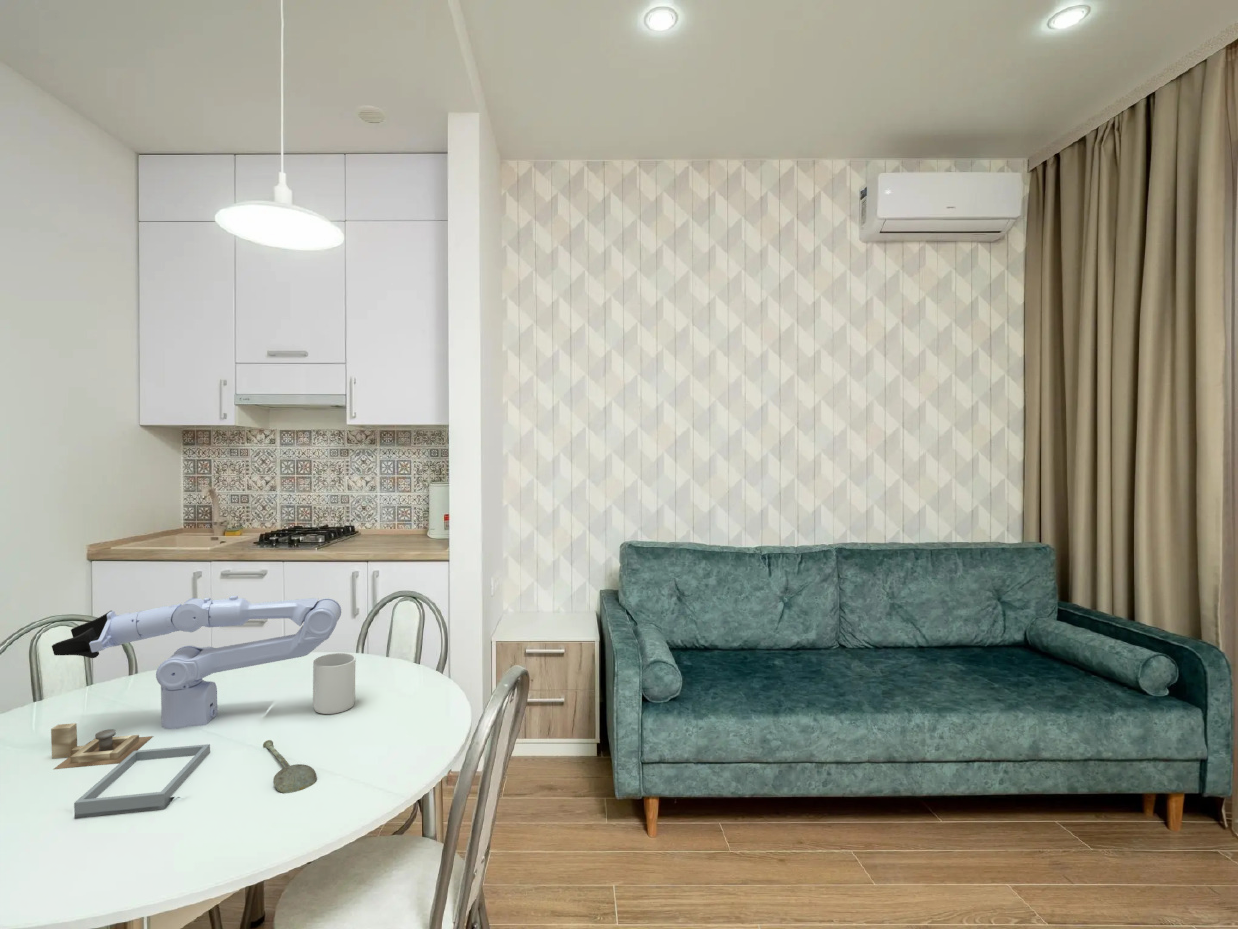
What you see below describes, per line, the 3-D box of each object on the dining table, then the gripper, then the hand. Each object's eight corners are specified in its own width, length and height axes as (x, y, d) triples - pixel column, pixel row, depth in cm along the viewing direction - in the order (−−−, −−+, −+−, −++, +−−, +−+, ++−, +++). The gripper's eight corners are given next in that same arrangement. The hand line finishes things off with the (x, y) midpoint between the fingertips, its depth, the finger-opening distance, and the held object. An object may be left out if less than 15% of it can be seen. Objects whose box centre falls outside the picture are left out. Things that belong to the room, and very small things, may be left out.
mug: (348, 691, 153) (348, 646, 152) (358, 710, 143) (359, 662, 142) (308, 698, 148) (308, 652, 148) (315, 718, 138) (316, 669, 138)
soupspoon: (279, 805, 107) (321, 792, 111) (279, 785, 107) (321, 773, 111) (249, 752, 124) (286, 743, 128) (249, 735, 124) (287, 726, 128)
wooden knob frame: (139, 741, 126) (138, 713, 126) (117, 759, 118) (116, 729, 118) (68, 746, 123) (67, 718, 123) (41, 766, 116) (40, 735, 116)
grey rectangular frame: (210, 757, 121) (209, 744, 121) (164, 809, 104) (163, 794, 104) (134, 764, 119) (134, 750, 119) (74, 818, 101) (74, 802, 101)
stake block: (153, 741, 128) (153, 718, 128) (123, 768, 117) (122, 743, 117) (90, 746, 126) (89, 723, 125) (53, 774, 115) (52, 749, 115)
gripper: (150, 594, 138) (75, 609, 134) (122, 621, 124) (38, 638, 121) (158, 624, 139) (84, 640, 136) (132, 654, 126) (49, 672, 122)
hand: (63, 641), depth 128 cm, fingers open, 7 cm apart
